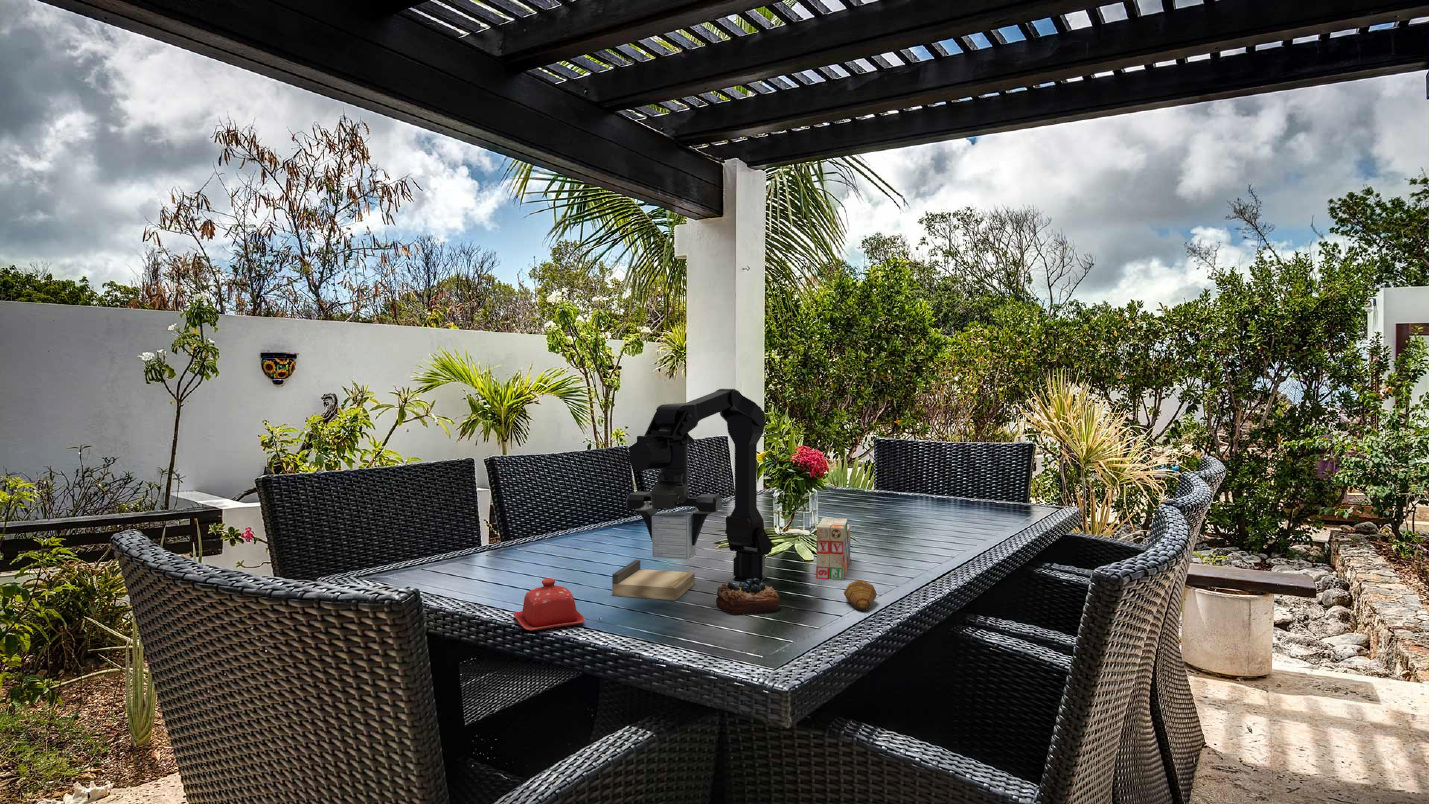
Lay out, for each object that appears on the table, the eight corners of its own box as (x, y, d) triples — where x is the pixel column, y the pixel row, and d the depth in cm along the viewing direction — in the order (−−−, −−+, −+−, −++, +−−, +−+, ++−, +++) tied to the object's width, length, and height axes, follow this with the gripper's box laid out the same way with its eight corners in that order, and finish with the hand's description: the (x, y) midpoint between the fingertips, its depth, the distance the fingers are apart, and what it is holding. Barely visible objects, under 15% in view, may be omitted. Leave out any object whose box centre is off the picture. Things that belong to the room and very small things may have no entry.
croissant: (881, 614, 157) (881, 588, 157) (846, 613, 158) (846, 587, 157) (872, 595, 171) (873, 572, 170) (840, 594, 171) (840, 571, 171)
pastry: (709, 603, 164) (710, 575, 164) (763, 598, 169) (763, 570, 168) (730, 618, 154) (730, 587, 154) (786, 612, 158) (786, 582, 158)
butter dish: (524, 636, 143) (524, 589, 142) (511, 619, 153) (511, 574, 153) (587, 628, 148) (587, 582, 147) (570, 611, 158) (570, 568, 158)
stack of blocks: (825, 559, 205) (826, 511, 205) (850, 560, 204) (851, 512, 203) (815, 579, 184) (816, 525, 184) (843, 581, 183) (843, 527, 183)
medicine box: (696, 555, 163) (695, 513, 163) (688, 560, 159) (688, 516, 158) (660, 553, 165) (659, 511, 165) (651, 558, 161) (651, 515, 161)
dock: (694, 583, 179) (694, 563, 179) (675, 600, 166) (676, 578, 165) (635, 579, 183) (635, 560, 183) (612, 595, 169) (612, 574, 169)
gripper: (615, 470, 156) (615, 550, 157) (708, 472, 152) (708, 555, 152) (635, 464, 167) (635, 539, 167) (722, 466, 162) (722, 543, 163)
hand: (674, 544), depth 162 cm, fingers closed on medicine box, 8 cm apart
